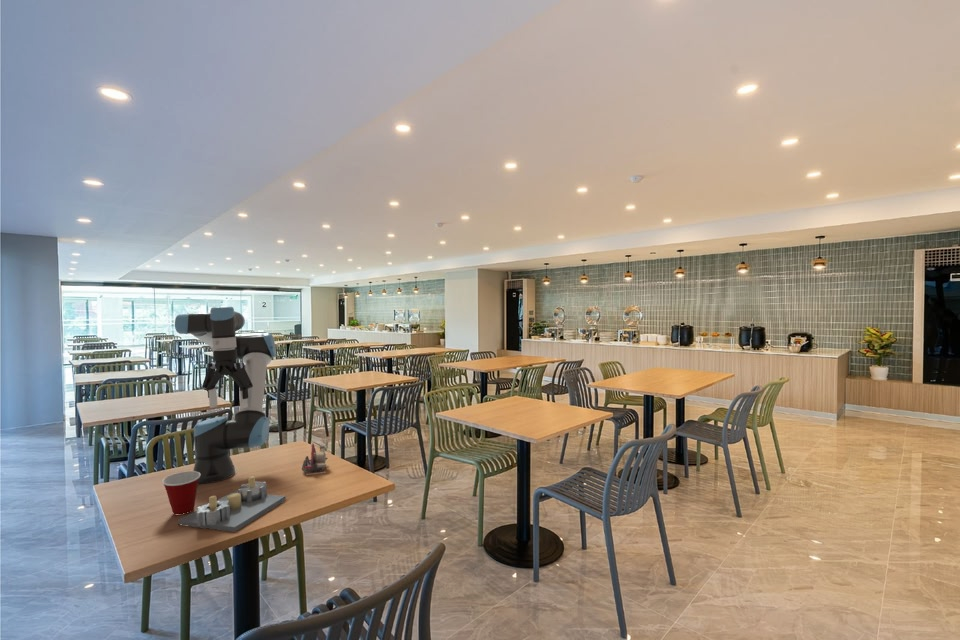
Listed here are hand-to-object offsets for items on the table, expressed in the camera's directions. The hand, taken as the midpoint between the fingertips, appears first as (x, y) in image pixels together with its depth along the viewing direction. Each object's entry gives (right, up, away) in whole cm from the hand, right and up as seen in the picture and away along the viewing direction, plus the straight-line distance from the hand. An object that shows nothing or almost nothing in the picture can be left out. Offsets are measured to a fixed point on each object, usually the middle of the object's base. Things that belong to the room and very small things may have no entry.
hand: (228, 407), depth 163 cm
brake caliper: (+24, -30, +21) cm, 44 cm away
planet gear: (+8, -31, -22) cm, 39 cm away
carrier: (+10, -32, -15) cm, 36 cm away
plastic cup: (-8, -33, -13) cm, 36 cm away
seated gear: (+12, -30, -7) cm, 33 cm away
